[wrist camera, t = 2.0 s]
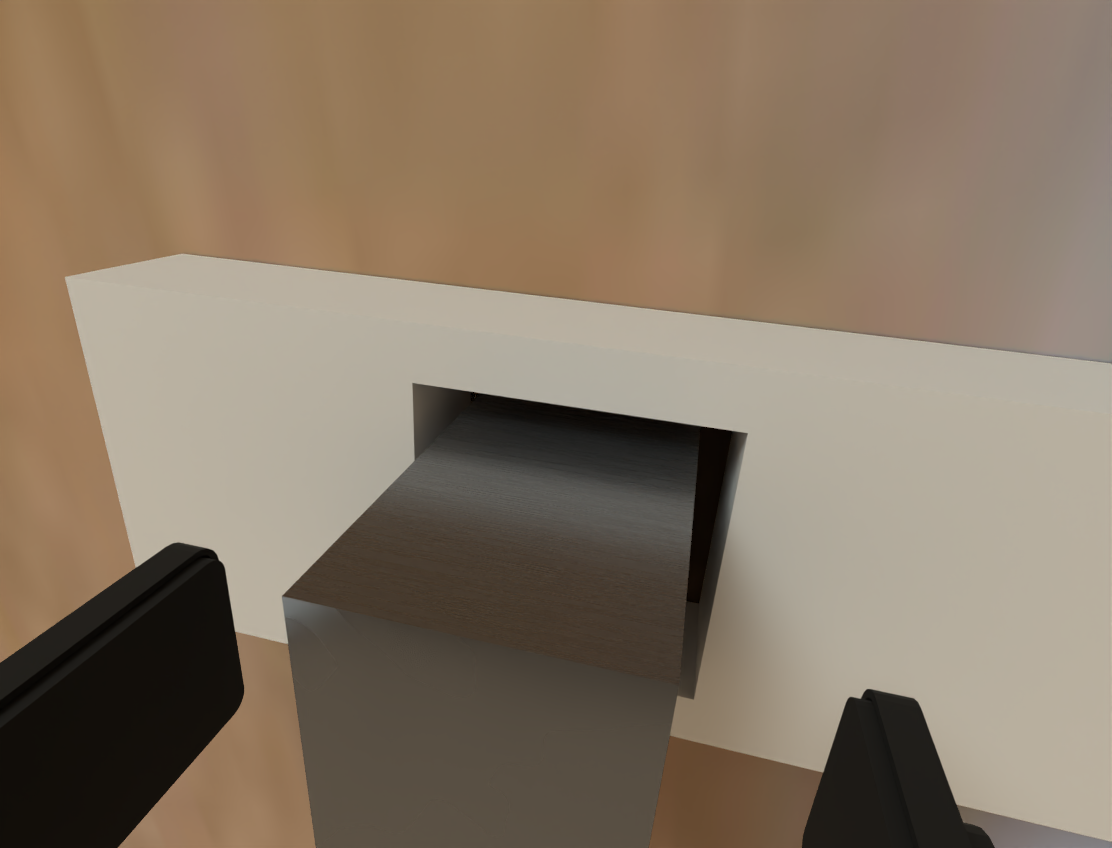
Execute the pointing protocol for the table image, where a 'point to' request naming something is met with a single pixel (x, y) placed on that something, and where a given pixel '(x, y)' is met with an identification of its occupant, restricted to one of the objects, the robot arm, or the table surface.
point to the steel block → (501, 636)
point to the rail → (743, 509)
